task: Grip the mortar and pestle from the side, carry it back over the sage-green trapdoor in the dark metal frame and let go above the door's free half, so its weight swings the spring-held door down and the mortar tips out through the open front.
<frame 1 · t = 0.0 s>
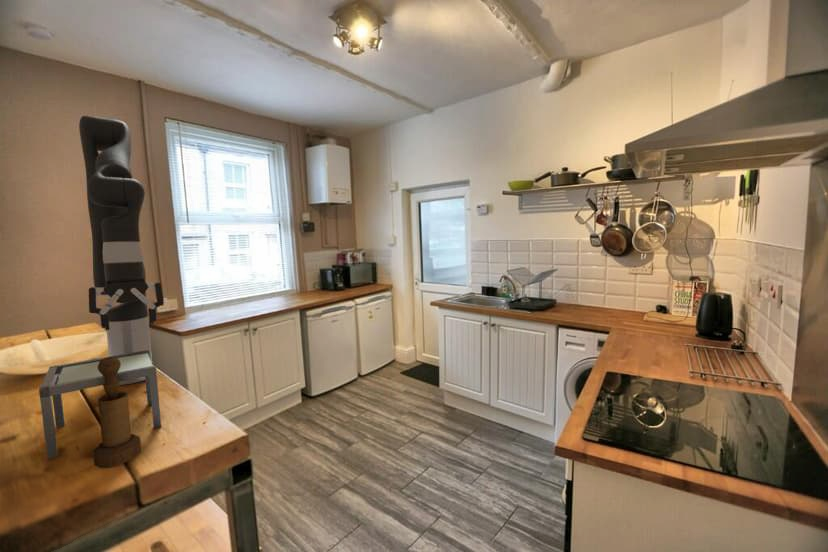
hand: (130, 326, 88), 17 cm above the table, tool pointing down, fingers open, 8 cm apart
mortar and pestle: (118, 457, 64), on the table
trapdoor: (107, 369, 73), point 12 cm above the table, hinge at 0.0°
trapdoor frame: (113, 425, 75), on the table
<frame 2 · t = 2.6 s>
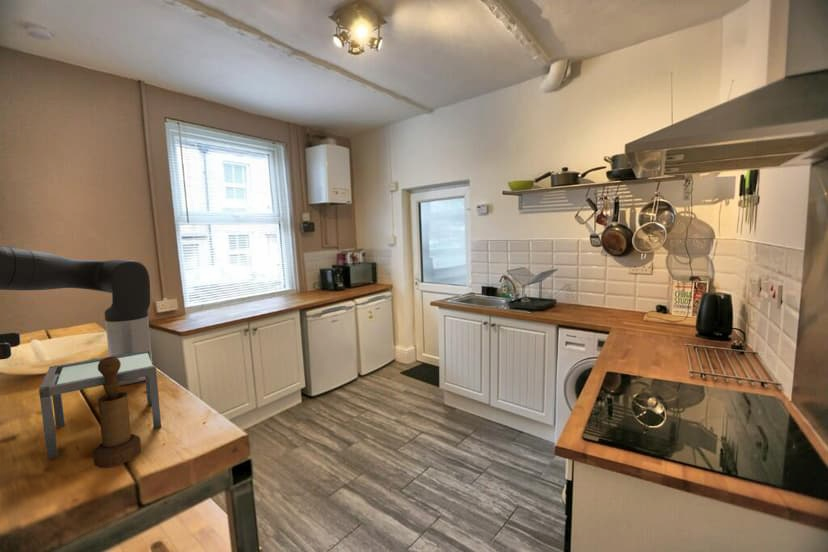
hand: (15, 344, 54), 23 cm above the table, tool horizontal, fingers open, 8 cm apart
nothing on the table moved.
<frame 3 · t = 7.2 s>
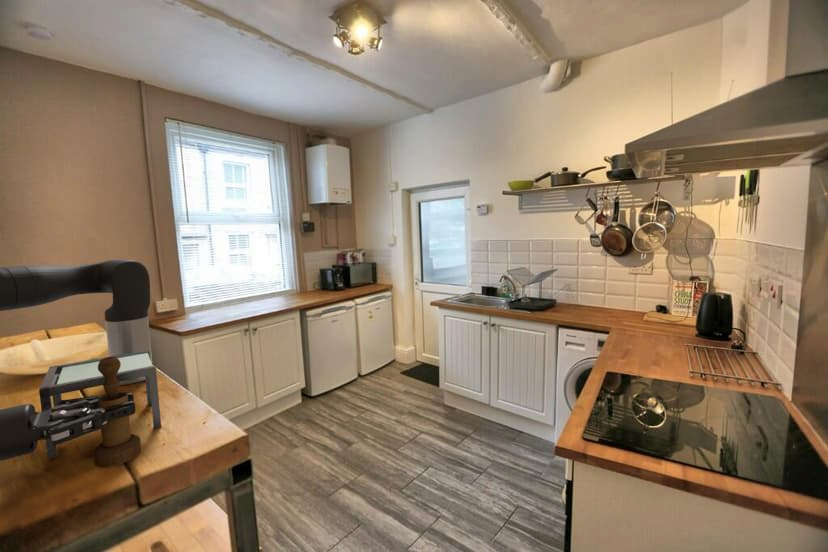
hand: (133, 403, 64), 9 cm above the table, tool horizontal, fingers closed on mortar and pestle, 4 cm apart
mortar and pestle: (118, 457, 64), on the table, touching gripper
everything else where it was.
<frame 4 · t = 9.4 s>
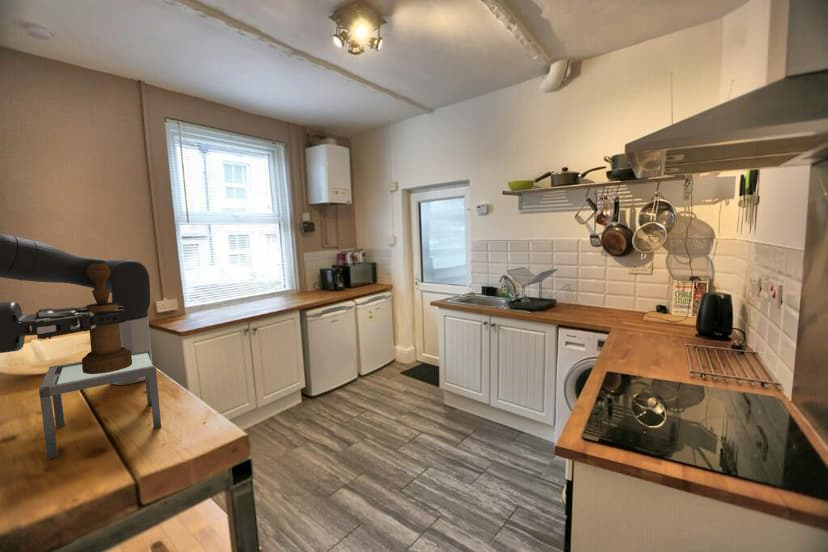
hand: (124, 313, 63), 25 cm above the table, tool horizontal, fingers closed on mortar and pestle, 4 cm apart
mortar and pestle: (108, 368, 62), point 16 cm above the table, touching gripper
everything else where it was.
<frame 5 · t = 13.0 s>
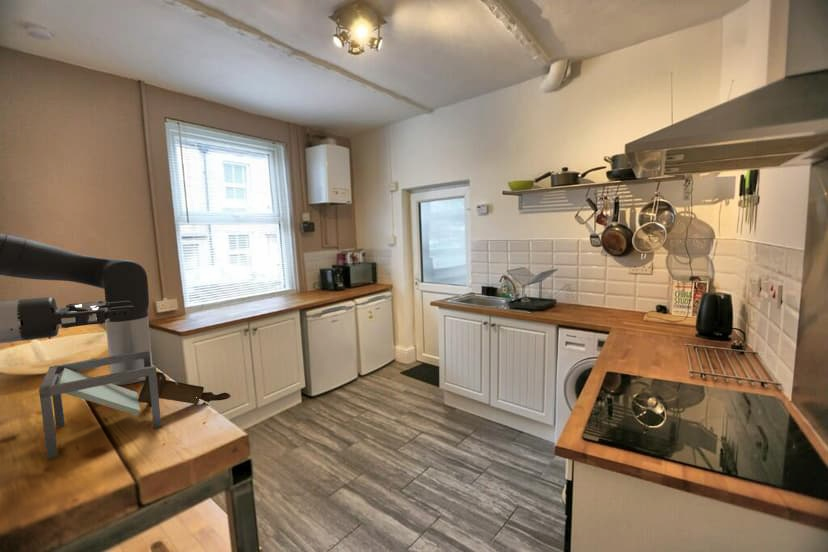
hand: (132, 308, 75), 24 cm above the table, tool horizontal, fingers open, 8 cm apart
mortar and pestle: (144, 385, 77), point 7 cm above the table, touching trapdoor
trapdoor: (100, 391, 73), point 8 cm above the table, hinge at -37.4°, touching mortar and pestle
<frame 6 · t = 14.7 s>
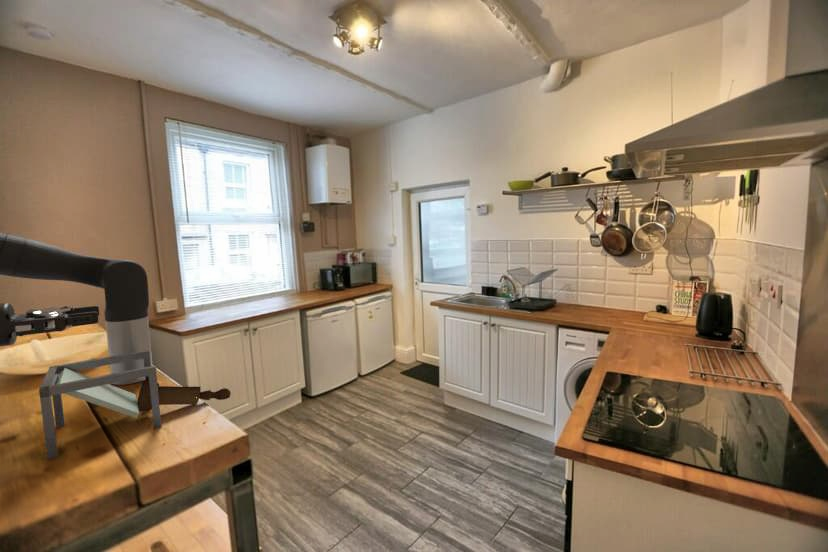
hand: (98, 314, 71), 24 cm above the table, tool horizontal, fingers open, 8 cm apart
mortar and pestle: (138, 395, 77), point 5 cm above the table
trapdoor: (99, 392, 73), point 8 cm above the table, hinge at -39.4°
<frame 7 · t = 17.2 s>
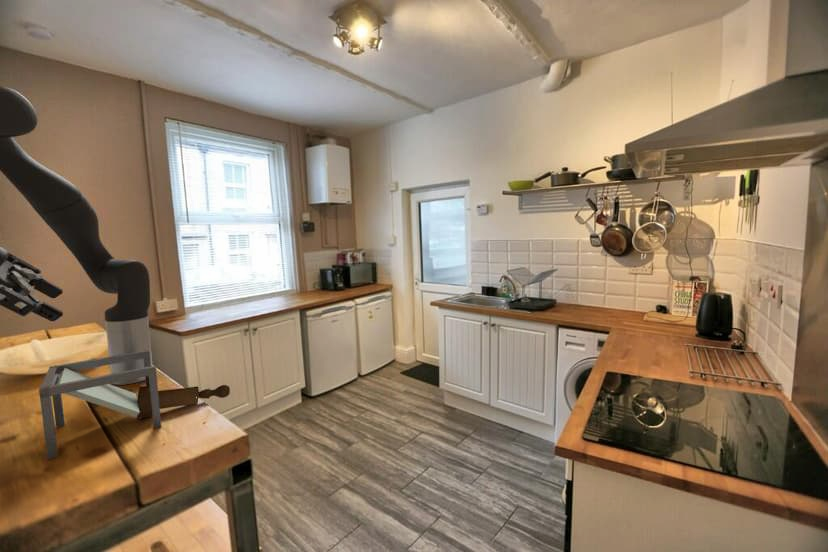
hand: (58, 305, 69), 26 cm above the table, tool tilted 45°, fingers open, 8 cm apart
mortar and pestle: (136, 402, 77), point 4 cm above the table, touching trapdoor
trapdoor: (100, 392, 73), point 8 cm above the table, hinge at -38.9°, touching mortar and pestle
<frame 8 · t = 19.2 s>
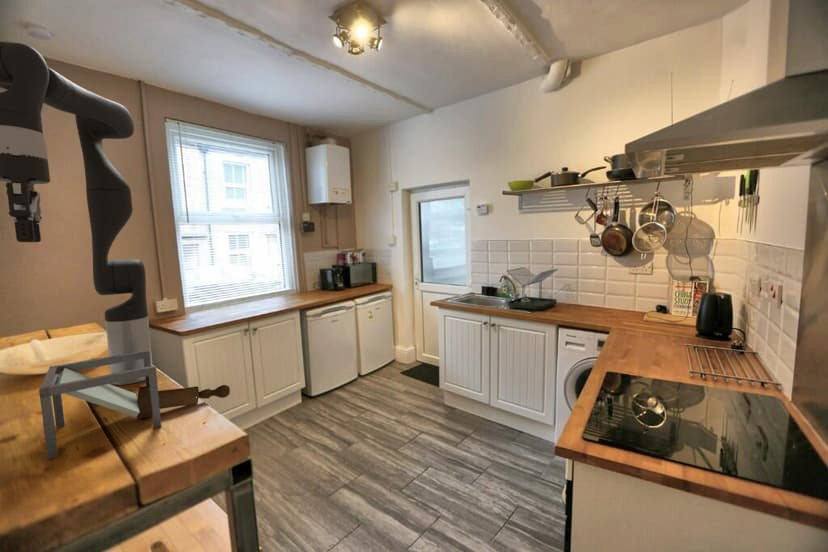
hand: (29, 242, 69), 38 cm above the table, tool pointing down, fingers open, 8 cm apart
nothing on the table moved.
at the end: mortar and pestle inside the target area on the trapdoor (5.1 cm from its centre), point 5.3 cm above the trapdoor's base; the gripper is holding nothing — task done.
